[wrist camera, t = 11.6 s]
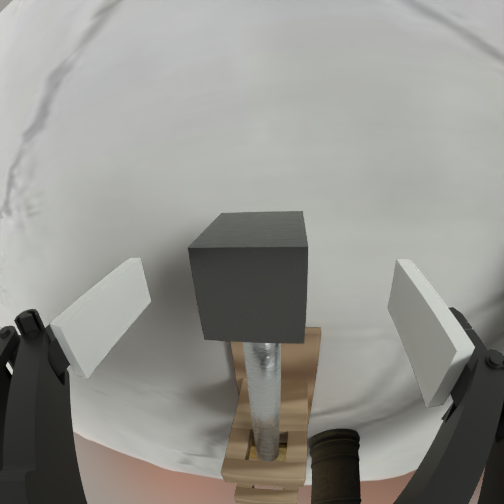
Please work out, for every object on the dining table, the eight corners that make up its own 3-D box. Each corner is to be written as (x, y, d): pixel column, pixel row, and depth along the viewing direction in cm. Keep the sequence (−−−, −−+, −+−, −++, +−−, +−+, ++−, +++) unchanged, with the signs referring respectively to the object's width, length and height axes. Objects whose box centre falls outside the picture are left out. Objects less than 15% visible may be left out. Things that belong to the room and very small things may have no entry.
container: (303, 448, 40) (297, 530, 23) (319, 426, 36) (317, 523, 20) (347, 450, 39) (349, 528, 23) (367, 428, 36) (376, 517, 19)
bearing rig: (231, 325, 30) (192, 438, 16) (320, 327, 29) (328, 448, 15) (246, 431, 39) (231, 505, 25) (305, 433, 37) (301, 509, 24)
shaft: (221, 213, 17) (187, 247, 11) (302, 211, 16) (308, 246, 11) (248, 430, 26) (240, 473, 20) (292, 432, 25) (289, 477, 20)
